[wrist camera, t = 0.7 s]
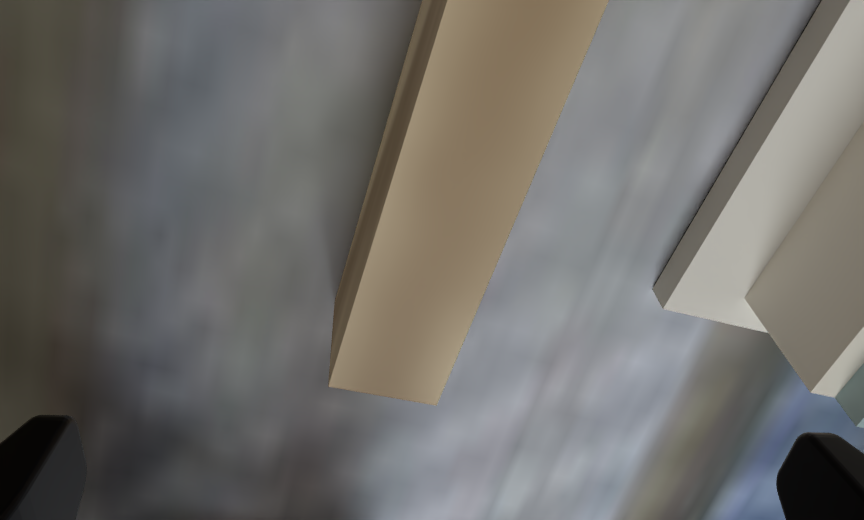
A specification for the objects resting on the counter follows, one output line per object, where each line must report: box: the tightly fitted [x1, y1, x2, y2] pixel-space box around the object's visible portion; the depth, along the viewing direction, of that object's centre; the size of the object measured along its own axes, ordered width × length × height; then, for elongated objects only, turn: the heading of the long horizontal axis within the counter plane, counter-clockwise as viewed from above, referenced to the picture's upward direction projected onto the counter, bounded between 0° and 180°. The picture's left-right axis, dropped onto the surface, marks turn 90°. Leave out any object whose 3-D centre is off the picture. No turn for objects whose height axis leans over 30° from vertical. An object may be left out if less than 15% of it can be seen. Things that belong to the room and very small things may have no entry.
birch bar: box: [328, 0, 609, 406], centre depth 16 cm, size 3×20×4 cm, turn 163°
